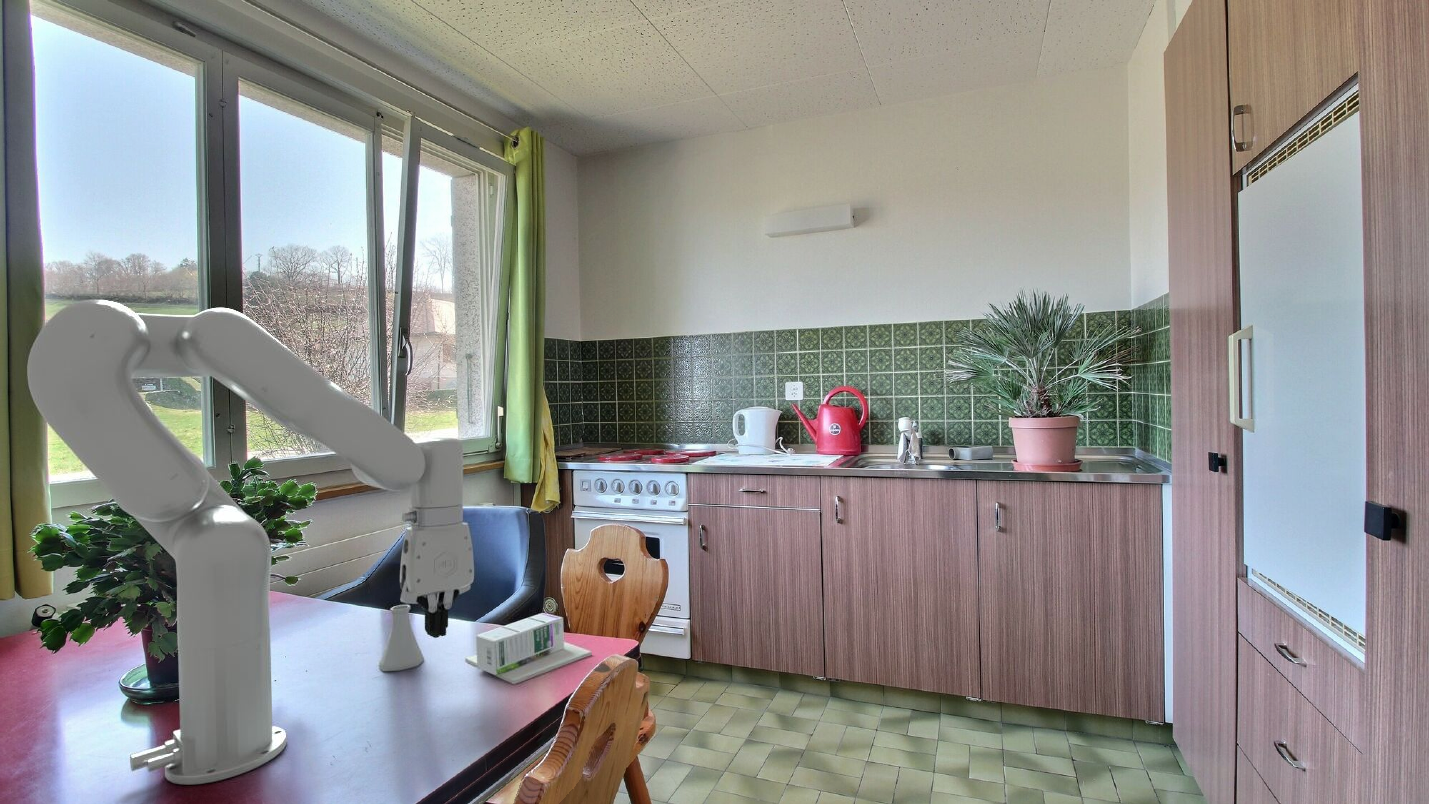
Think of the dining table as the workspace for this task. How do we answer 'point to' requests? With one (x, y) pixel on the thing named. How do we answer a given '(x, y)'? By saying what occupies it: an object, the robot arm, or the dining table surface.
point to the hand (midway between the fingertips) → (436, 634)
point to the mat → (540, 663)
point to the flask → (401, 643)
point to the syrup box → (519, 643)
